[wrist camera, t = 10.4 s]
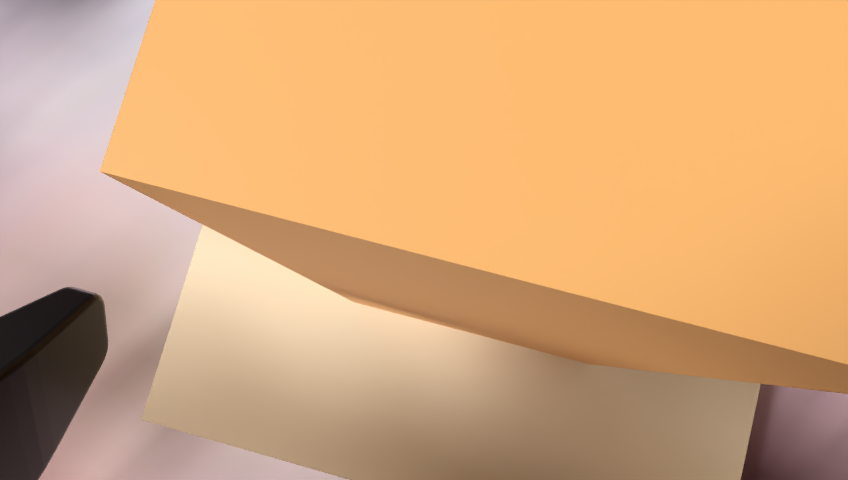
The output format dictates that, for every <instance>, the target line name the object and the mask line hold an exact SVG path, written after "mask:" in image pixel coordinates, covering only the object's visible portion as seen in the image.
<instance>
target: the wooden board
mask: <svg viewBox="0 0 848 480" xmlns="http://www.w3.org/2000/svg"><path fill="white" fill-rule="evenodd" d="M760 386H761V384H758V383H750V382H741V381H732V380H723V379H715V378H706V377H697V376H688V375H679V374H671V373H662V372H653V371H644V370H636V369H627V368H618V367H609V366H601V365H592V364H586V363H583V362H579V361H575V360H571V359H567V358H564V357H560V356H556V355H552V354H548V353H545V352H541V351H537V350H533V349H529V348H526V347H522V346H518V345H514V344H510V343H507V342H503V341H499V340H495V339H491V338H488V337H484V336H480V335H476V334H472V333H469V332H465V331H461V330H457V329H453V328H450V327H446V326H442V325H438V324H434V323H431V322H427V321H423V320H419V319H415V318H411V317H408V316H404V315H400V314H396V313H392V312H389V311H385V310H381V309H377V308H373V307H370V306H366V305H362V304H358V303H354V302H352V301H350V300H348V299H346V298H344V297H343V296H341V295H339V294H337V293H335V292H333V291H331V290H329V289H327V288H325V287H323V286H321V285H319V284H317V283H315V282H313V281H311V280H310V279H308V278H306V277H304V276H302V275H300V274H298V273H296V272H294V271H292V270H290V269H288V268H286V267H284V266H282V265H280V264H278V263H277V262H275V261H273V260H271V259H269V258H267V257H265V256H263V255H261V254H259V253H257V252H255V251H253V250H251V249H249V248H247V247H245V246H244V245H242V244H240V243H238V242H236V241H234V240H232V239H230V238H228V237H226V236H224V235H222V234H220V233H218V232H216V231H214V230H212V229H211V228H209V227H207V226H205V225H202V229H201V232H200V235H199V238H198V241H197V245H196V248H195V251H194V254H193V257H192V260H191V264H190V267H189V270H188V273H187V276H186V279H185V283H184V286H183V289H182V292H181V295H180V298H179V302H178V305H177V308H176V311H175V314H174V317H173V321H172V324H171V327H170V330H169V333H168V336H167V340H166V343H165V346H164V349H163V352H162V355H161V359H160V362H159V365H158V368H157V371H156V374H155V378H154V381H153V384H152V387H151V390H150V393H149V397H148V400H147V403H146V406H145V409H144V412H143V416H142V419H141V420H145V421H148V422H151V423H155V424H158V425H162V426H165V427H169V428H172V429H176V430H179V431H183V432H186V433H190V434H193V435H197V436H200V437H203V438H207V439H210V440H214V441H217V442H221V443H224V444H228V445H231V446H235V447H238V448H242V449H245V450H249V451H252V452H256V453H259V454H262V455H266V456H269V457H273V458H276V459H280V460H283V461H287V462H290V463H294V464H297V465H301V466H304V467H308V468H311V469H314V470H318V471H321V472H325V473H328V474H332V475H335V476H339V477H342V478H346V479H349V480H741V476H742V471H743V466H744V461H745V457H746V452H747V447H748V442H749V438H750V433H751V428H752V424H753V419H754V414H755V409H756V405H757V400H758V395H759V391H760Z"/></svg>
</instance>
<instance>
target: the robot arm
mask: <svg viewBox="0 0 848 480" xmlns="http://www.w3.org/2000/svg"><path fill="white" fill-rule="evenodd" d="M107 349H108V334H107V325H106V315H105V305H104V301H103V299H102V297H101V296H100V295H98V294H96V293H92V292H89V291H85V290H82V289H78V288H74V287H66V288H62V289H60V290H58V291H55V292H53V293H51V294H49V295H47V296H44V297H42V298H40V299H38V300H36V301H34V302H31V303H29V304H27V305H25V306H23V307H21V308H18V309H16V310H14V311H12V312H10V313H7V314H5V315H3V316H1V317H0V480H38V479H39V478H40V476H41V474H42V473H43V471H44V470H45V468H46V466H47V465H48V463H49V461H50V459H51V458H52V456H53V454H54V452H55V451H56V449H57V447H58V445H59V443H60V441H61V439H62V438H63V436H64V434H65V432H66V430H67V428H68V426H69V425H70V423H71V421H72V419H73V417H74V415H75V413H76V412H77V410H78V408H79V406H80V404H81V402H82V400H83V399H84V397H85V395H86V393H87V391H88V389H89V387H90V386H91V384H92V382H93V380H94V378H95V376H96V374H97V373H98V371H99V369H100V367H101V365H102V363H103V361H104V359H105V356H106V353H107Z"/></svg>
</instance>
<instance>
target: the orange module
mask: <svg viewBox="0 0 848 480" xmlns="http://www.w3.org/2000/svg"><path fill="white" fill-rule="evenodd" d="M100 172H102V173H104V174H106V175H108V176H110V177H112V178H114V179H115V180H117V181H119V182H121V183H123V184H125V185H127V186H129V187H131V188H133V189H135V190H137V191H139V192H141V193H143V194H145V195H147V196H148V197H150V198H152V199H154V200H156V201H158V202H160V203H162V204H164V205H166V206H168V207H170V208H172V209H174V210H176V211H178V212H180V213H181V214H183V215H185V216H187V217H189V218H191V219H193V220H195V221H197V222H199V223H201V224H203V225H205V226H207V227H209V228H211V229H212V230H214V231H216V232H218V233H220V234H222V235H224V236H226V237H228V238H230V239H232V240H234V241H236V242H238V243H240V244H242V245H244V246H245V247H247V248H249V249H251V250H253V251H255V252H257V253H259V254H261V255H263V256H265V257H267V258H269V259H271V260H273V261H275V262H277V263H278V264H280V265H282V266H284V267H286V268H288V269H290V270H292V271H294V272H296V273H298V274H300V275H302V276H304V277H306V278H308V279H310V280H311V281H313V282H315V283H317V284H319V285H321V286H323V287H325V288H327V289H329V290H331V291H333V292H335V293H337V294H339V295H341V296H343V297H344V298H346V299H348V300H350V301H352V302H354V303H358V304H362V305H366V306H370V307H373V308H377V309H381V310H385V311H389V312H392V313H396V314H400V315H404V316H408V317H411V318H415V319H419V320H423V321H427V322H431V323H434V324H438V325H442V326H446V327H450V328H453V329H457V330H461V331H465V332H469V333H472V334H476V335H480V336H484V337H488V338H491V339H495V340H499V341H503V342H507V343H510V344H514V345H518V346H522V347H526V348H529V349H533V350H537V351H541V352H545V353H548V354H552V355H556V356H560V357H564V358H567V359H571V360H575V361H579V362H583V363H586V364H592V365H601V366H609V367H618V368H627V369H636V370H644V371H653V372H662V373H671V374H679V375H688V376H697V377H706V378H715V379H723V380H732V381H741V382H750V383H758V384H767V385H776V386H785V387H793V388H802V389H811V390H820V391H828V392H837V393H846V394H848V0H155V3H154V7H153V10H152V13H151V16H150V19H149V22H148V25H147V28H146V31H145V34H144V37H143V40H142V43H141V46H140V50H139V53H138V56H137V59H136V62H135V65H134V68H133V71H132V74H131V77H130V80H129V83H128V86H127V89H126V93H125V96H124V99H123V102H122V105H121V108H120V111H119V114H118V117H117V120H116V123H115V126H114V129H113V133H112V136H111V139H110V142H109V145H108V148H107V151H106V154H105V157H104V160H103V163H102V166H101V169H100Z"/></svg>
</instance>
